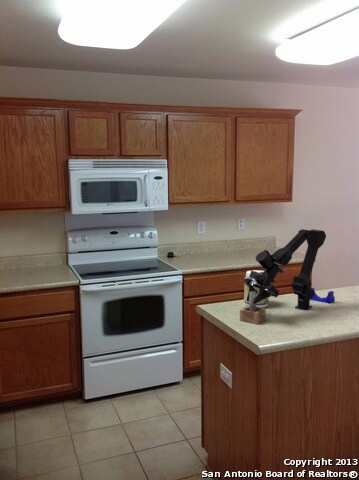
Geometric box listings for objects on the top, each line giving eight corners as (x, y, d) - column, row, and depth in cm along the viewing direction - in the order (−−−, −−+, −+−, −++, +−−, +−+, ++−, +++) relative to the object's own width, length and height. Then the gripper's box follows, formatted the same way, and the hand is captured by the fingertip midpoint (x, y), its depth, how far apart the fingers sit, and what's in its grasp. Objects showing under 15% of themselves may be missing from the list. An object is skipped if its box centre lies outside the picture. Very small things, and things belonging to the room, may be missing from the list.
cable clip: (334, 302, 214) (335, 290, 213) (330, 304, 211) (331, 292, 210) (312, 297, 222) (312, 287, 221) (308, 299, 219) (308, 288, 218)
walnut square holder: (248, 315, 195) (248, 305, 194) (265, 319, 190) (265, 308, 189) (240, 320, 188) (240, 310, 188) (256, 324, 183) (256, 313, 182)
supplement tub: (268, 309, 204) (269, 275, 201) (243, 308, 206) (243, 274, 204) (268, 302, 216) (268, 269, 213) (244, 301, 218) (244, 269, 216)
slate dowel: (255, 318, 191) (255, 291, 189) (257, 321, 188) (257, 293, 186) (248, 319, 190) (248, 291, 188) (250, 321, 187) (250, 293, 185)
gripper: (246, 260, 195) (227, 287, 191) (274, 267, 179) (254, 296, 175) (259, 275, 200) (241, 301, 196) (287, 282, 184) (268, 311, 181)
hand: (250, 302), depth 187 cm, fingers open, 4 cm apart
